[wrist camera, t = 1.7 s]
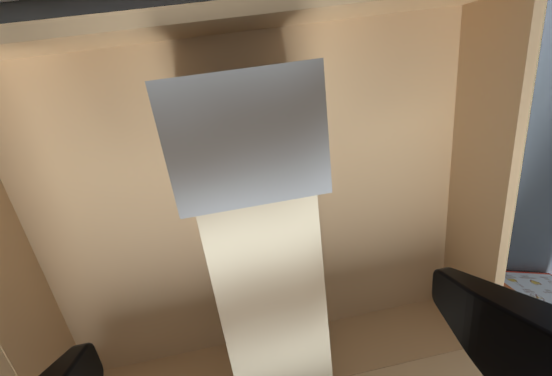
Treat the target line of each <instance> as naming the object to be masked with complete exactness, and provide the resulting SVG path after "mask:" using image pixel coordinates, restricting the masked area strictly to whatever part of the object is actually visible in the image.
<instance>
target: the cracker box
mask: <svg viewBox="0 0 552 376" xmlns="http://www.w3.org/2000/svg"><path fill="white" fill-rule="evenodd" d="M504 287H507V288H509V289H512V290H515V291H518V292H520V293H523V294H526V295H529V296H531V297H534V298H537V299H540V300H543V301H545V302H548V303H551V304H552V274H549V273H537V272H520V271H506V274H505V280H504Z"/></svg>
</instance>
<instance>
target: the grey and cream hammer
mask: <svg viewBox="0 0 552 376" xmlns="http://www.w3.org/2000/svg"><path fill="white" fill-rule="evenodd" d="M145 85H146V88H147V92H148V96H149V100H150V104H151V108H152V112H153V116H154V120H155V123H156V127H157V131H158V135H159V139H160V143H161V147H162V151H163V155H164V158H165V162H166V166H167V170H168V174H169V178H170V182H171V186H172V189H173V193H174V197H175V201H176V205H177V209H178V213H179V217H180V219H184V218H190V217H196V220H197V224H198V228H199V232H200V236H201V241H202V245H203V249H204V253H205V258H206V262H207V266H208V270H209V274H210V279H211V283H212V287H213V291H214V295H215V300H216V304H217V308H218V312H219V317H220V321H221V325H222V329H223V333H224V338H225V342H226V346H227V350H228V354H229V359H230V363H231V367H232V371H233V376H333V373H332V361H331V349H330V338H329V326H328V314H327V303H326V291H325V279H324V267H323V256H322V244H321V232H320V221H319V209H318V197H317V195H321V194H327V193H332V178H331V164H330V149H329V134H328V119H327V104H326V89H325V74H324V60H323V58H317V59H310V60H302V61H294V62H287V63H279V64H272V65H264V66H257V67H249V68H241V69H234V70H226V71H219V72H211V73H204V74H196V75H188V76H181V77H173V78H166V79H158V80H150V81H145Z"/></svg>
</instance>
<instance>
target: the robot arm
mask: <svg viewBox="0 0 552 376" xmlns="http://www.w3.org/2000/svg"><path fill="white" fill-rule="evenodd" d="M432 298H433V301H434V303H435V305H436V306H437V308H438V309H439V311H440V313H441V314H442V316H443V317H444V319H445V321H446V322H447V324H448V325H449V327H450V328H451V330H452V332H453V333H454V335H455V336H456V338H457V340H458V341H459V343H460V344H461V346H462V347H463V349H464V350H465V352H466V353H467V355H468V356H469V358H470V359H471V360H472V362H473V363H474V364H475V366H476V367H477V368H478V370H479V371H480V372H481V373H482V375H483V376H552V304H551V303H548V302H545V301H543V300H540V299H537V298H534V297H531V296H529V295H526V294H523V293H520V292H518V291H515V290H512V289H509V288H507V287H504V286H501V285H498V284H496V283H493V282H490V281H487V280H485V279H482V278H479V277H476V276H474V275H471V274H468V273H465V272H462V271H460V270H457V269H454V268H451V267H444V268H440V269H436V270H434V272H433V280H432ZM103 375H104V369H103V365H102V363H101V360H100V358H99V356H98V353H97V351H96V349H95V346H94V345H93V344H92V343H89V342H88V343H83V344H78V345H74V346H72V347H71V348H69V349H68V350H67V351H66V352H65V353H64V354H63V355H61V356H60V357H59V358H58V359H57V360H56V361H55V362H53V363H52V364H51V365H50V366H49V367H48V368H47V369H45V370H44V371H43V372H42V373H41V374H40V375H39V376H103Z"/></svg>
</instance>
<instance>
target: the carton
mask: <svg viewBox="0 0 552 376" xmlns="http://www.w3.org/2000/svg"><path fill="white" fill-rule="evenodd" d="M547 1H548V0H214V1H205V2H196V3H186V4H177V5H168V6H159V7H150V8H141V9H132V10H123V11H114V12H104V13H95V14H86V15H77V16H68V17H59V18H50V19H41V20H31V21H22V22H13V23H4V24H0V376H39V375H40V374H41V373H42V372H43V371H44V370H45V369H47V368H48V367H49V366H50V365H51V364H52V363H53V362H55V361H56V360H57V359H58V358H59V357H60V356H61V355H63V354H64V353H65V352H66V351H67V350H68V349H69V348H71V347H72V346H74V345H78V344H83V343H88V342H89V343H92V344H93V345H94V346H95V349H96V351H97V353H98V356H99V358H100V360H101V363H102V365H103V369H104V375H103V376H233V371H232V367H231V363H230V359H229V354H228V350H227V346H226V342H225V338H224V333H223V329H222V325H221V321H220V317H219V312H218V308H217V304H216V300H215V295H214V291H213V287H212V283H211V279H210V274H209V270H208V266H207V262H206V258H205V253H204V249H203V245H202V241H201V236H200V232H199V228H198V224H197V220H196V217H190V218H184V219H180V217H179V213H178V209H177V205H176V201H175V197H174V193H173V189H172V186H171V182H170V178H169V174H168V170H167V166H166V162H165V158H164V155H163V151H162V147H161V143H160V139H159V135H158V131H157V127H156V123H155V120H154V116H153V112H152V108H151V104H150V100H149V96H148V92H147V88H146V85H145V81H150V80H158V79H166V78H173V77H181V76H188V75H196V74H204V73H211V72H219V71H226V70H234V69H241V68H249V67H257V66H264V65H272V64H279V63H287V62H294V61H302V60H310V59H317V58H323V60H324V74H325V89H326V104H327V119H328V134H329V149H330V164H331V178H332V193H327V194H321V195H317V197H318V209H319V221H320V232H321V244H322V256H323V267H324V279H325V291H326V303H327V314H328V326H329V338H330V349H331V361H332V373H333V376H483V375H482V373H481V372H480V371H479V370H478V368H477V367H476V366H475V364H474V363H473V362H472V360H471V359H470V358H469V356H468V355H467V353H466V352H465V350H464V349H463V347H462V346H461V344H460V343H459V341H458V340H457V338H456V336H455V335H454V333H453V332H452V330H451V328H450V327H449V325H448V324H447V322H446V321H445V319H444V317H443V316H442V314H441V313H440V311H439V309H438V308H437V306H436V305H435V303H434V301H433V298H432V280H433V272H434V270H436V269H440V268H444V267H451V268H454V269H457V270H460V271H462V272H465V273H468V274H471V275H474V276H476V277H479V278H482V279H485V280H487V281H490V282H493V283H496V284H498V285H501V286H504V280H505V274H506V267H507V261H508V254H509V248H510V241H511V235H512V228H513V222H514V215H515V209H516V202H517V196H518V189H519V183H520V176H521V170H522V163H523V157H524V150H525V144H526V137H527V131H528V124H529V118H530V111H531V105H532V98H533V92H534V85H535V79H536V72H537V66H538V59H539V53H540V46H541V40H542V33H543V27H544V21H545V14H546V8H547Z"/></svg>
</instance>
